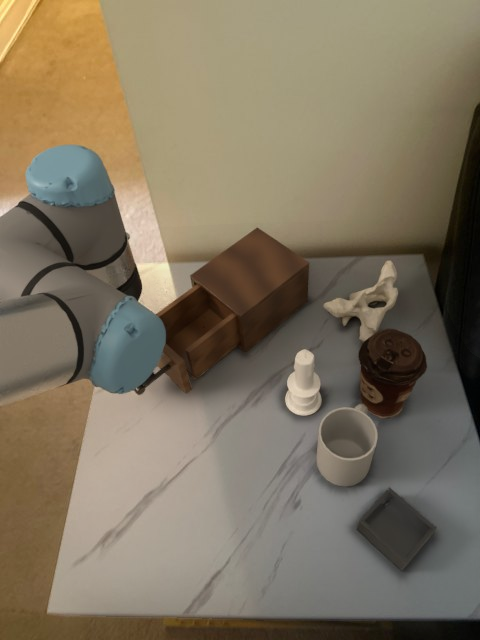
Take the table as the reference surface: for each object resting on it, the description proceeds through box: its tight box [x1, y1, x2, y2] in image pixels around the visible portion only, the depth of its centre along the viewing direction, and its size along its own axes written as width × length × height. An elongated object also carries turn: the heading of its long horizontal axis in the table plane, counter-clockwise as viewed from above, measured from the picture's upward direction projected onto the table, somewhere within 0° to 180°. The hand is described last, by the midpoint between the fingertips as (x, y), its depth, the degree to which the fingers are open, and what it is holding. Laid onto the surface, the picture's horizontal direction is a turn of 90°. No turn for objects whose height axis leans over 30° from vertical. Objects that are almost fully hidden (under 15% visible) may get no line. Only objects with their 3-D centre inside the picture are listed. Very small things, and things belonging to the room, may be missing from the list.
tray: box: [355, 487, 437, 572], centre depth 69 cm, size 6×7×4 cm
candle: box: [284, 348, 323, 417], centre depth 78 cm, size 5×5×12 cm
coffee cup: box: [357, 328, 428, 419], centre depth 77 cm, size 9×8×13 cm
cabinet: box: [189, 226, 310, 354], centre depth 91 cm, size 15×12×10 cm
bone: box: [323, 260, 399, 343], centre depth 90 cm, size 9×14×8 cm, turn 142°
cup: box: [316, 403, 379, 487], centre depth 74 cm, size 7×10×9 cm
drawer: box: [133, 284, 241, 396], centre depth 85 cm, size 20×10×8 cm, turn 133°
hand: (145, 379), depth 84 cm, fingers closed
